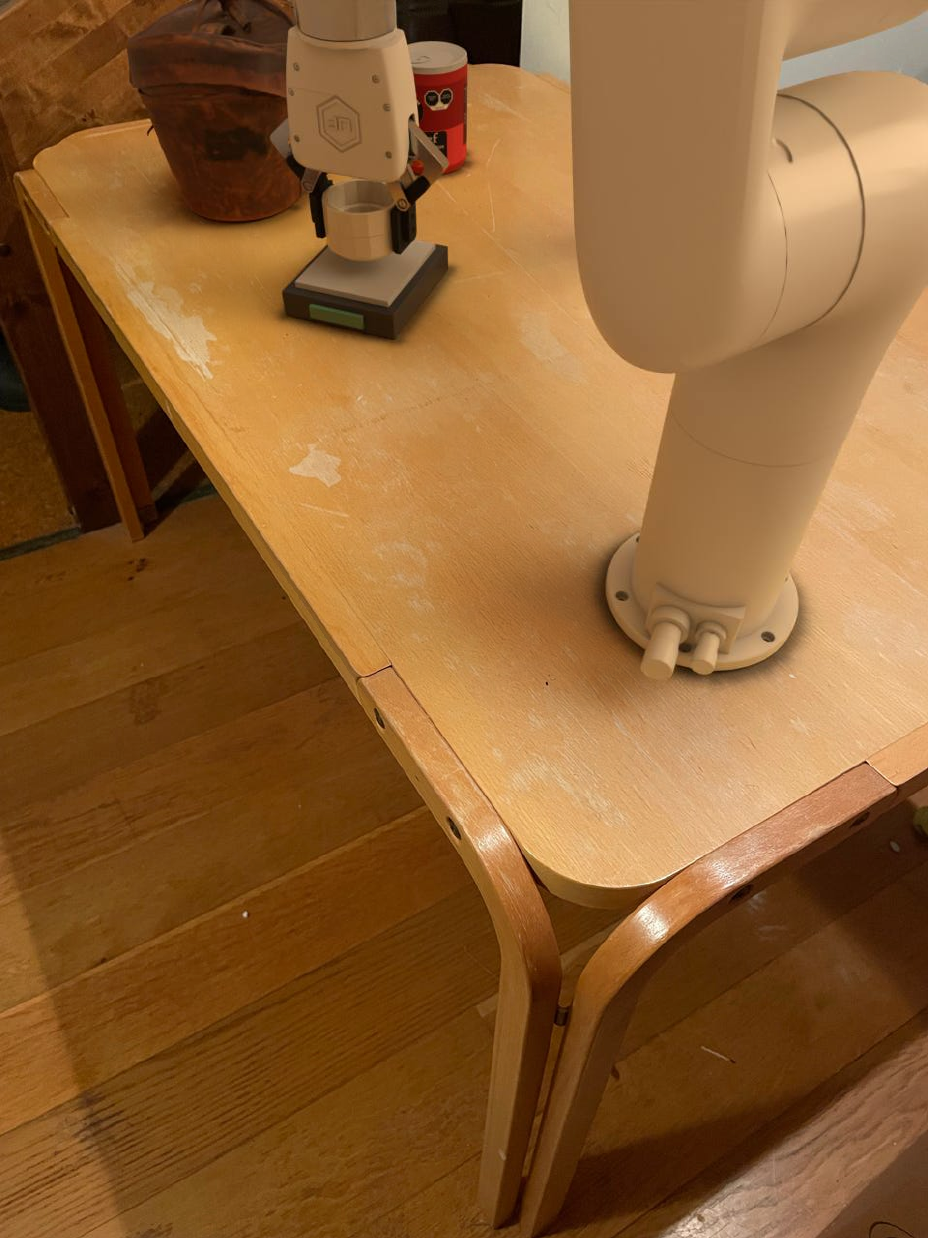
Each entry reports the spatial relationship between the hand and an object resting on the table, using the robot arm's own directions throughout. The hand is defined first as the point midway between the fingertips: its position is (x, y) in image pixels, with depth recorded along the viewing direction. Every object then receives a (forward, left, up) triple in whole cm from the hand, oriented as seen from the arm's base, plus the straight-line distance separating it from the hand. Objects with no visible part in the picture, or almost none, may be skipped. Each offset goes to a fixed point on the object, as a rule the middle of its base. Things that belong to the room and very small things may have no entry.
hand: (365, 237), depth 81 cm
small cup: (0, 0, -1) cm, 1 cm away
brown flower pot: (+13, +21, -5) cm, 25 cm away
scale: (0, 0, -5) cm, 5 cm away
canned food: (+28, +5, -5) cm, 29 cm away
